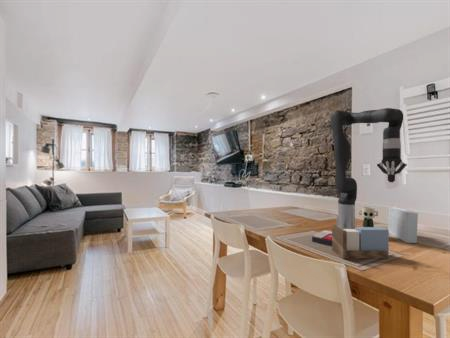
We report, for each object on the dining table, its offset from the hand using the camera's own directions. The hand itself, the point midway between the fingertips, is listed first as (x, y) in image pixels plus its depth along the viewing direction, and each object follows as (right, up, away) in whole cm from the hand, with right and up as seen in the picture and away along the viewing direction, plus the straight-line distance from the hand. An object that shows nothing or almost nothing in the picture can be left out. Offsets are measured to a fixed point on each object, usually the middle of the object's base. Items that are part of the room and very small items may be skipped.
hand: (391, 182), depth 121 cm
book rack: (-24, -32, -13) cm, 42 cm away
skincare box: (+15, -32, +13) cm, 38 cm away
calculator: (-29, -33, +7) cm, 44 cm away
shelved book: (-28, -32, -13) cm, 45 cm away
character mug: (+10, -32, +36) cm, 49 cm away
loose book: (-18, -32, -14) cm, 39 cm away
